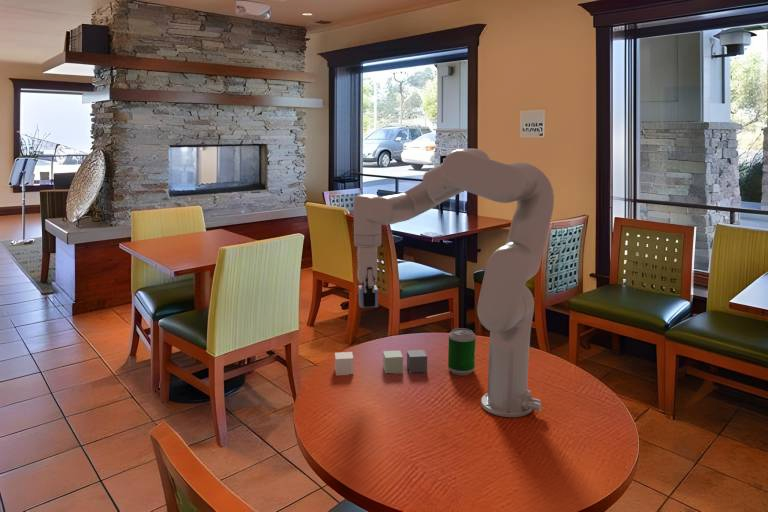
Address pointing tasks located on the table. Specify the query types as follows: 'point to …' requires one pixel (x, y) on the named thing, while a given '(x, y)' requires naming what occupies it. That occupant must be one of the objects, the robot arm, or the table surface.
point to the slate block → (361, 290)
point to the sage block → (392, 361)
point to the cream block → (344, 363)
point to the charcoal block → (417, 361)
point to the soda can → (461, 351)
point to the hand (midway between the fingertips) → (368, 302)
